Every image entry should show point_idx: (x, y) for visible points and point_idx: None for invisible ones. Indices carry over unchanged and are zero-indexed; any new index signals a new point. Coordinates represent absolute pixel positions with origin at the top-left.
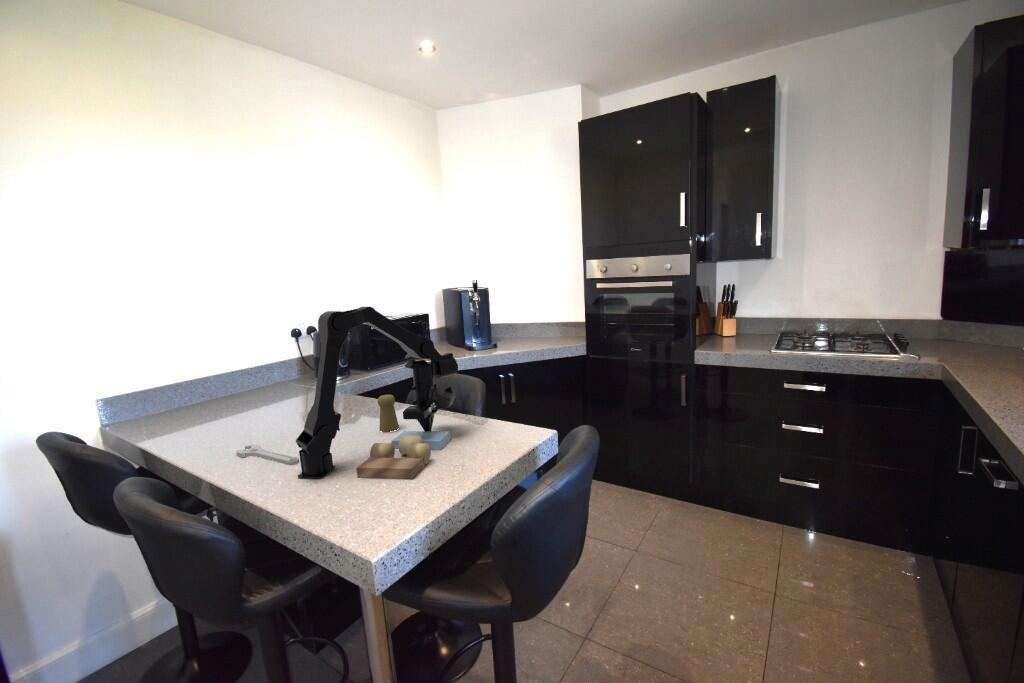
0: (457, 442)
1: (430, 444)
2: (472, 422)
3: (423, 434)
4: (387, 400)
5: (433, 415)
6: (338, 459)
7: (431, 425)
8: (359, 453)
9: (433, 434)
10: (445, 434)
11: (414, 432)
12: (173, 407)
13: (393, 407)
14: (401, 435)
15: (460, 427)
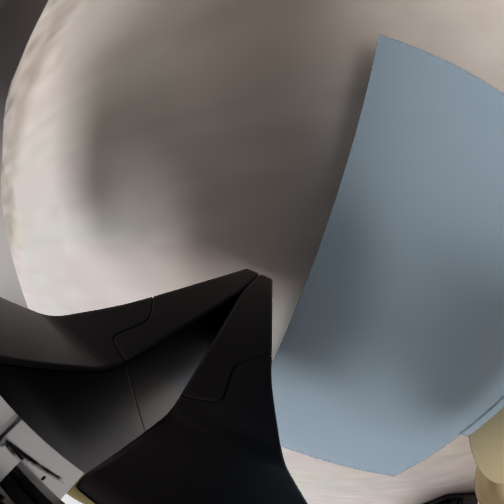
0: (463, 16)
1: None
2: (60, 28)
3: (384, 359)
4: (85, 496)
5: (87, 341)
6: (386, 499)
7: (211, 301)
8: (369, 484)
9: (444, 264)
10: (498, 107)
11: (287, 402)
12: None
13: None
14: (324, 452)
15: (101, 56)
